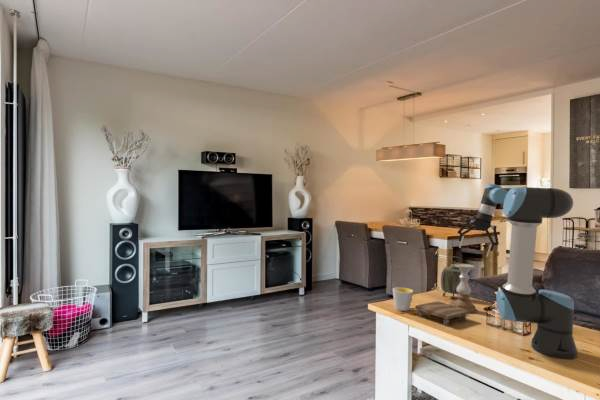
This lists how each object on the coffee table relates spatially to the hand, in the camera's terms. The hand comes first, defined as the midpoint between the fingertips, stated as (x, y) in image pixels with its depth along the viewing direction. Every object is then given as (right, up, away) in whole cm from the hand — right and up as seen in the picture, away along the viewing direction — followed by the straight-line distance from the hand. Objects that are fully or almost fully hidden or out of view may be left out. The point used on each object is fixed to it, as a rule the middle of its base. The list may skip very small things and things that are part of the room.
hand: (473, 252), depth 197 cm
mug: (-36, -30, 0) cm, 47 cm away
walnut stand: (-21, -31, -12) cm, 39 cm away
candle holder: (-4, -31, +3) cm, 32 cm away
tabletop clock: (0, -31, +26) cm, 40 cm away
